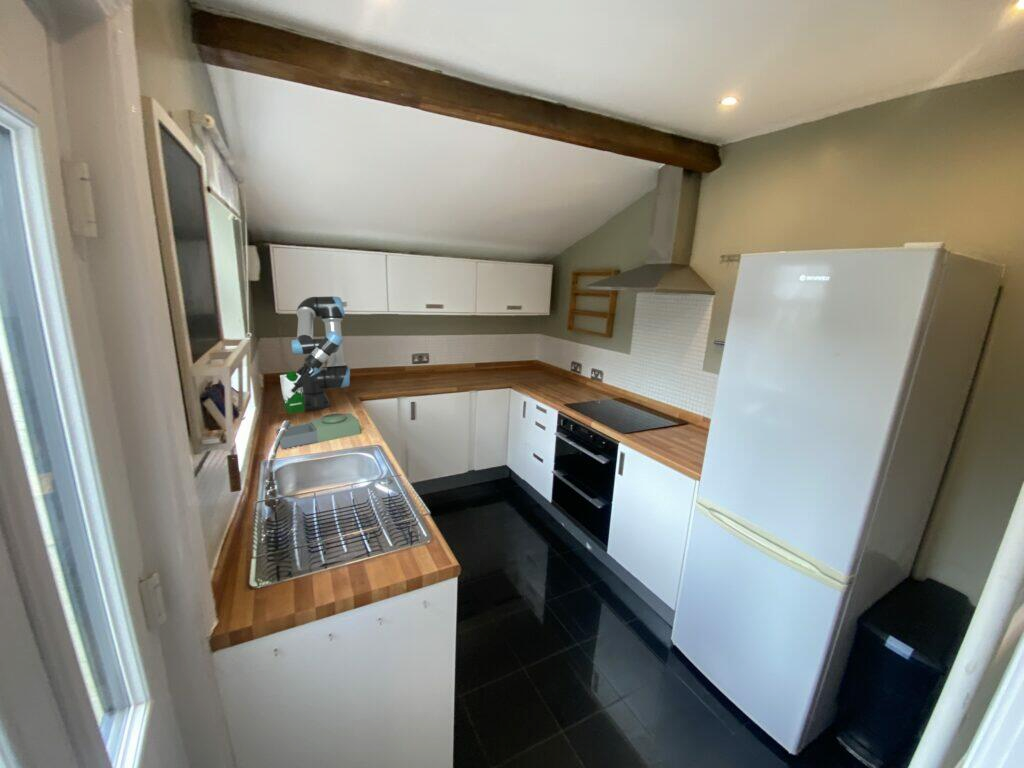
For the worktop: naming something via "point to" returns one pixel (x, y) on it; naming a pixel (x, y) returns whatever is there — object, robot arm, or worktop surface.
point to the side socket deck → (320, 430)
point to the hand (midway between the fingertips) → (285, 394)
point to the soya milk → (297, 399)
